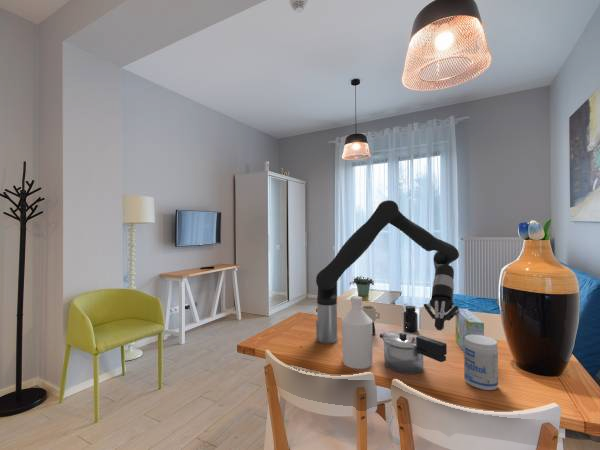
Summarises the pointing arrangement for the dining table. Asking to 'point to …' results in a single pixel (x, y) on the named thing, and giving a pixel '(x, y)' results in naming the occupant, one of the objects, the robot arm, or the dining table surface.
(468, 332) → the snack box
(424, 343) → the lid
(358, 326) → the bottle
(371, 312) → the character mug
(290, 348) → the dining table surface
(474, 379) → the supplement tub
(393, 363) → the pot
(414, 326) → the supplement bottle
